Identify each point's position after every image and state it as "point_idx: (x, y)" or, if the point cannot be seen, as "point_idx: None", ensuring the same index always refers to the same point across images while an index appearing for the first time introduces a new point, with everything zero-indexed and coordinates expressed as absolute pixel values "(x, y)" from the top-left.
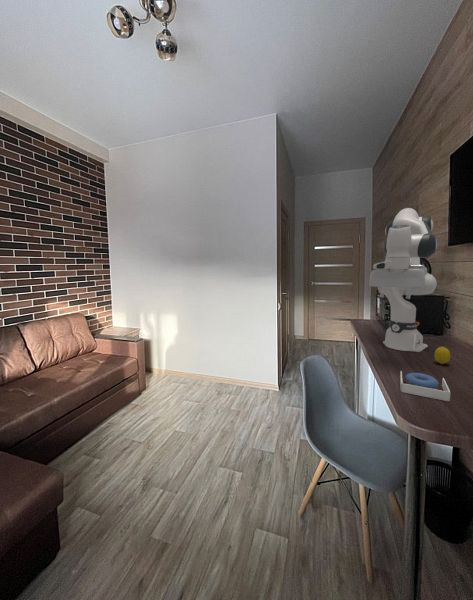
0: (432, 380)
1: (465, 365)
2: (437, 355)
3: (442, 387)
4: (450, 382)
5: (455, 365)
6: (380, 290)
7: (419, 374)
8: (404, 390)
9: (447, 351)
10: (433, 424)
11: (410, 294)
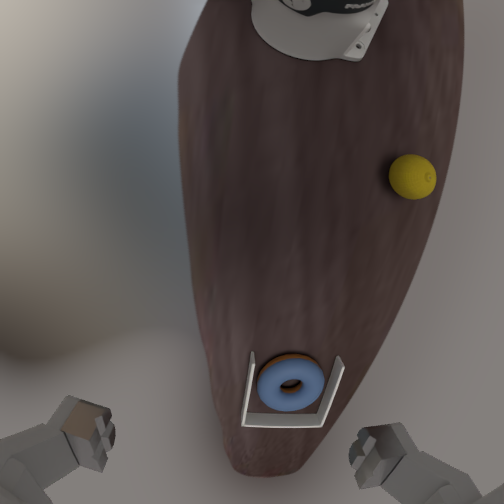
0: (309, 402)
1: (445, 166)
2: (398, 189)
3: (334, 364)
4: (365, 325)
5: None
6: (42, 472)
7: (292, 378)
8: (247, 416)
9: (429, 193)
10: (267, 469)
11: (396, 483)
